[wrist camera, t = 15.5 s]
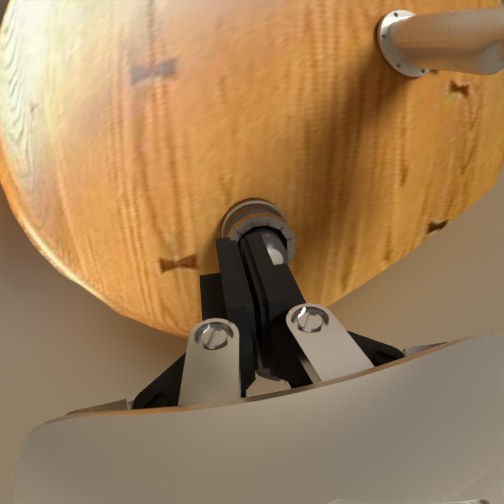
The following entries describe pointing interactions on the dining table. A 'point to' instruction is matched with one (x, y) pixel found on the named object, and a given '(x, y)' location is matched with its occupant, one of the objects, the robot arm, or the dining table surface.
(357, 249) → the dining table surface
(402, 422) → the robot arm
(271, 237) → the dark grey short cylinder
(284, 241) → the lens barrel
